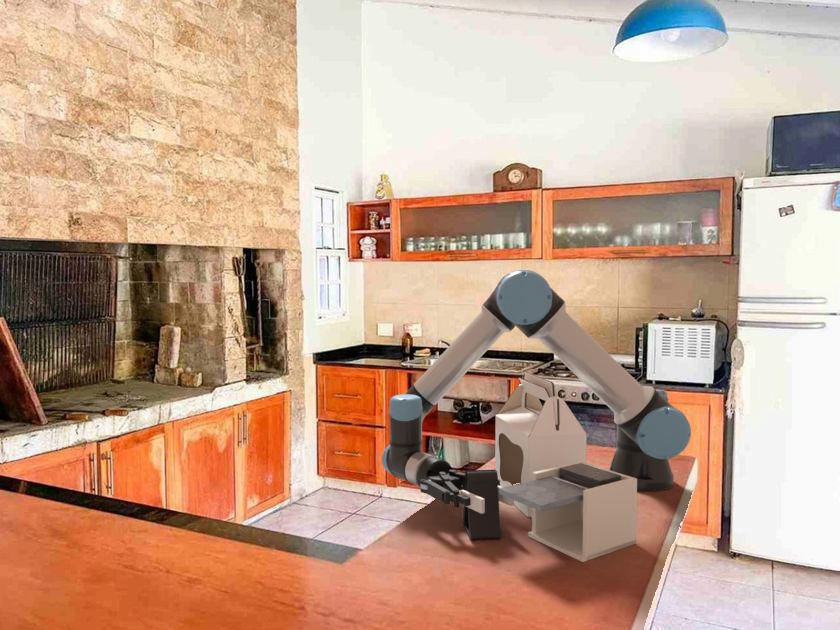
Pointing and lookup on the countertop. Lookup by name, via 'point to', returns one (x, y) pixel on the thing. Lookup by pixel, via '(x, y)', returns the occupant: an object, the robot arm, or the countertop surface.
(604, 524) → the frame
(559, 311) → the robot arm
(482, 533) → the phone stand
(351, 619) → the countertop surface
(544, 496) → the trapdoor
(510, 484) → the gable box
